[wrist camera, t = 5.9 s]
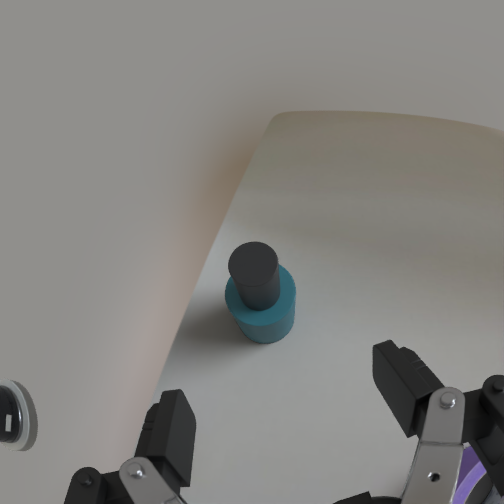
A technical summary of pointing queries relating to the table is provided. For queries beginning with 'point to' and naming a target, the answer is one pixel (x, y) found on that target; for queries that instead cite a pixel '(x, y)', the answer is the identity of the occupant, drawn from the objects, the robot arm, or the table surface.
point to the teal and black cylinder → (260, 293)
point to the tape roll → (472, 478)
